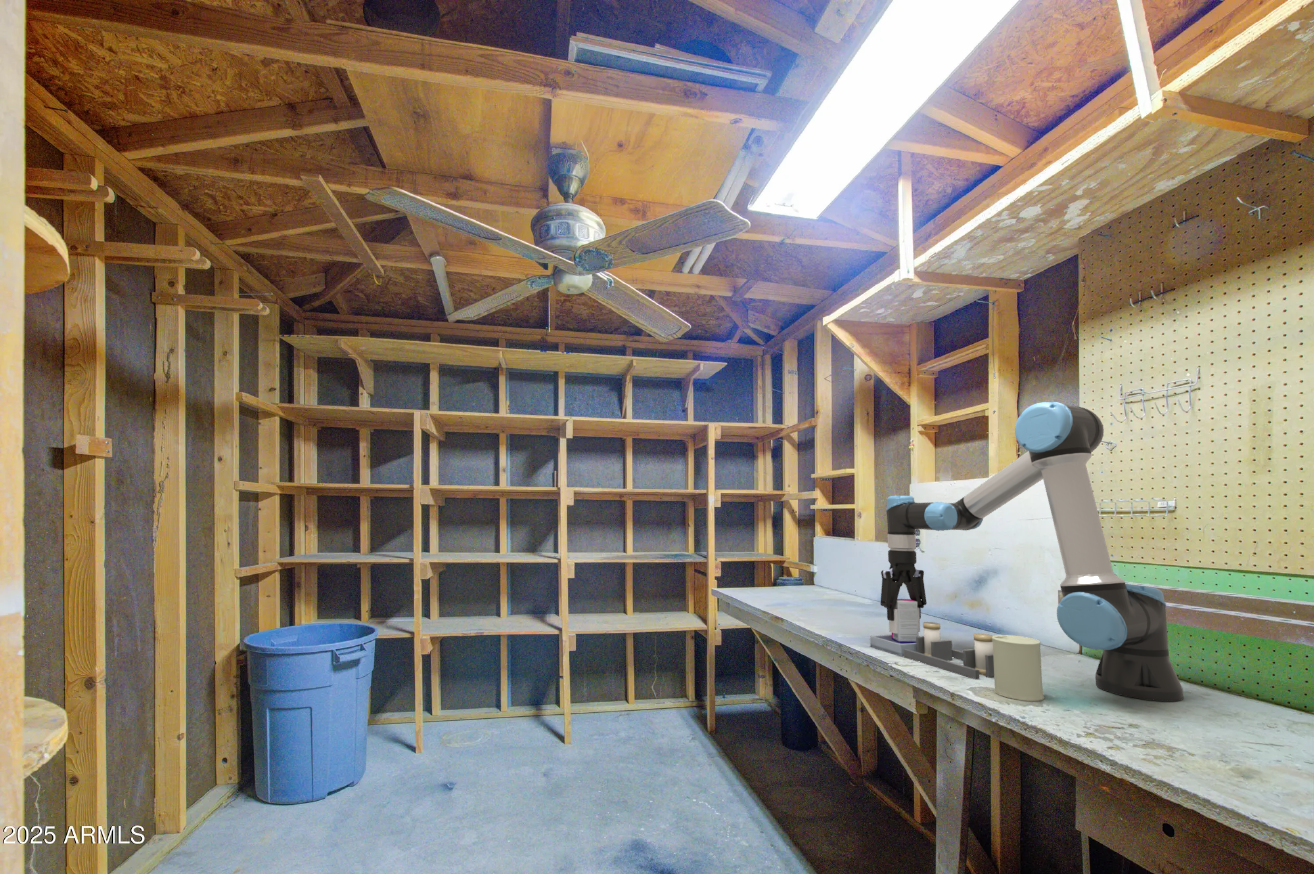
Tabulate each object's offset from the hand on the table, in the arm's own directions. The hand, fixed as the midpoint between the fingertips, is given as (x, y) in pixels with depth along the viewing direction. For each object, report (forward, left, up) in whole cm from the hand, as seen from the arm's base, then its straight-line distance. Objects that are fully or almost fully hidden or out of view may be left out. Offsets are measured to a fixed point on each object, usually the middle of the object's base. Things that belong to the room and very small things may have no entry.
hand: (904, 631), depth 171 cm
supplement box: (0, 0, -3) cm, 3 cm away
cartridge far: (-10, 0, -5) cm, 11 cm away
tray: (0, 0, -5) cm, 5 cm away
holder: (-18, 0, -5) cm, 19 cm away
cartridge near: (-26, 0, -5) cm, 26 cm away
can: (-41, +8, -5) cm, 42 cm away
